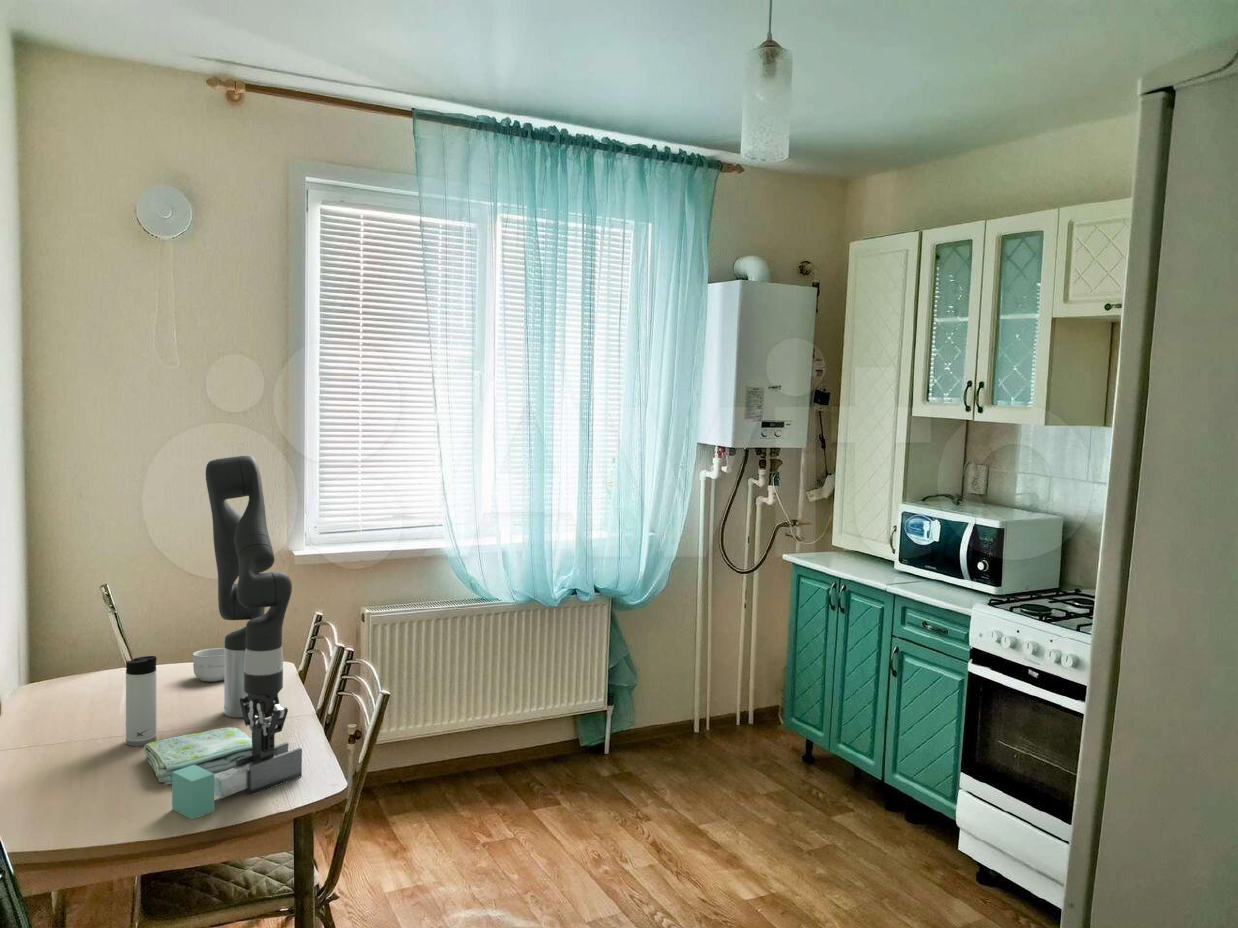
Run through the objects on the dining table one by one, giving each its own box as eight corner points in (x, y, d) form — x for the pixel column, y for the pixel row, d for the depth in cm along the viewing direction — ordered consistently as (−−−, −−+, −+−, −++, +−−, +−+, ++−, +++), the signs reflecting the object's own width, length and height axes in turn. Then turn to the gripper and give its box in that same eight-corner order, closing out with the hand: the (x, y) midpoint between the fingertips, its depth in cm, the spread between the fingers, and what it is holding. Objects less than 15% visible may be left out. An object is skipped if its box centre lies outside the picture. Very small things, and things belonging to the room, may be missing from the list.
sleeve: (286, 769, 195) (286, 742, 195) (301, 776, 192) (301, 748, 192) (235, 787, 185) (235, 759, 185) (251, 795, 182) (251, 765, 182)
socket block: (194, 801, 179) (194, 764, 178) (214, 811, 175) (214, 773, 174) (172, 809, 175) (172, 771, 174) (192, 819, 171) (192, 781, 170)
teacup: (184, 682, 250) (184, 654, 250) (208, 671, 261) (208, 644, 260) (230, 687, 248) (230, 658, 248) (252, 675, 259) (252, 648, 258)
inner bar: (272, 770, 191) (272, 719, 190) (282, 775, 189) (283, 723, 188) (210, 792, 180) (211, 738, 179) (221, 797, 178) (221, 742, 177)
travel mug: (144, 747, 204) (144, 661, 203) (119, 744, 205) (119, 659, 204) (163, 738, 210) (163, 654, 209) (139, 735, 211) (139, 652, 210)
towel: (140, 760, 198) (141, 737, 198) (241, 740, 211) (241, 719, 211) (158, 789, 184) (158, 765, 184) (264, 766, 197) (264, 744, 197)
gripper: (300, 670, 185) (299, 752, 186) (259, 657, 193) (258, 735, 194) (268, 679, 179) (267, 763, 180) (227, 665, 186) (226, 746, 188)
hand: (262, 748), depth 187 cm, fingers closed on inner bar, 3 cm apart
